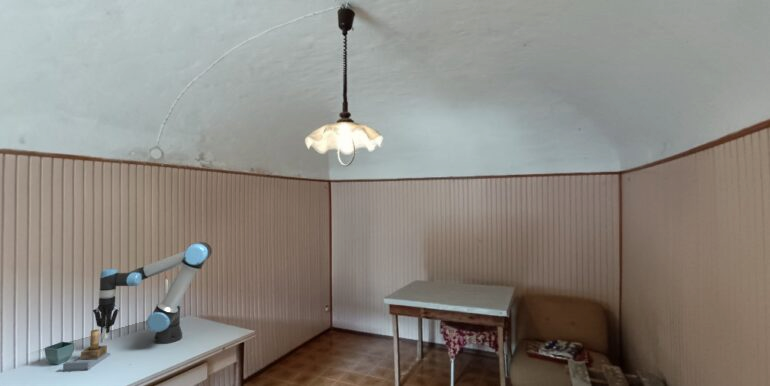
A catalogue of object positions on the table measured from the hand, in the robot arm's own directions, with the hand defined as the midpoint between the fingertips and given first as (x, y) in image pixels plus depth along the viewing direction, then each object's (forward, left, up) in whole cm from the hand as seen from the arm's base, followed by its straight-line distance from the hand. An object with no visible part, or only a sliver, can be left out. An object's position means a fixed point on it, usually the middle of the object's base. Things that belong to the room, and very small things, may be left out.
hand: (104, 338), depth 204 cm
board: (0, +15, -7) cm, 17 cm away
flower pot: (+15, +12, -8) cm, 21 cm away
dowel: (0, +10, -5) cm, 11 cm away
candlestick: (-13, -45, -8) cm, 47 cm away
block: (0, +10, -6) cm, 12 cm away
